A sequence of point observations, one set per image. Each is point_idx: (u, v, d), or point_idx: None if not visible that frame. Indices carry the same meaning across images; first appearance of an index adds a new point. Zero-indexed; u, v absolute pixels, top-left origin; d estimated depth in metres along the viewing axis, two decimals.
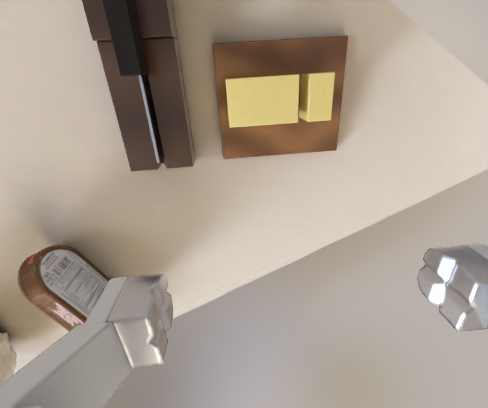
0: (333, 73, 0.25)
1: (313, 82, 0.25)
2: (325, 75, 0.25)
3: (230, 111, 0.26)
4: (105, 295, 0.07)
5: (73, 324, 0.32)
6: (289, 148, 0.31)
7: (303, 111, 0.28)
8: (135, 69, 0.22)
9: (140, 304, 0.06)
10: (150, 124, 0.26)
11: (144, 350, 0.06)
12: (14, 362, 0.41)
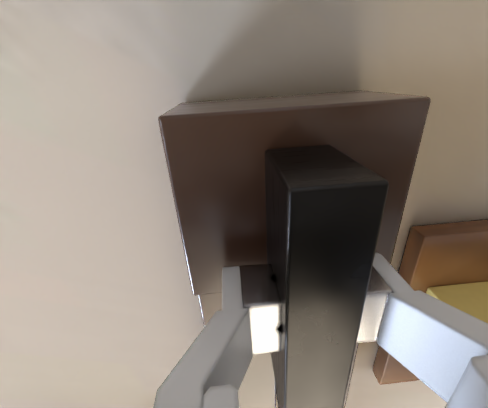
0: None
1: None
2: None
3: None
4: (228, 283, 0.07)
5: None
6: None
7: None
8: None
9: (267, 291, 0.06)
10: None
11: (269, 337, 0.07)
12: None
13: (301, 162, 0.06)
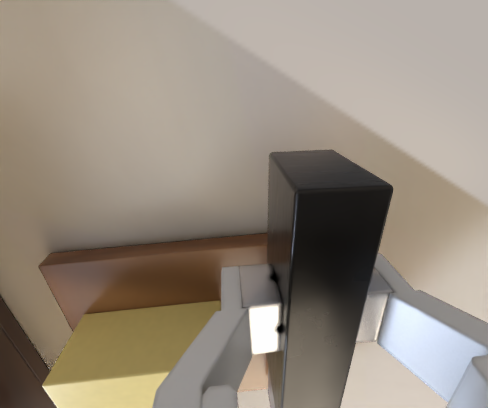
0: None
1: None
2: None
3: None
4: (227, 283, 0.07)
5: None
6: None
7: None
8: None
9: (267, 291, 0.06)
10: None
11: (268, 337, 0.07)
12: None
13: (306, 165, 0.06)
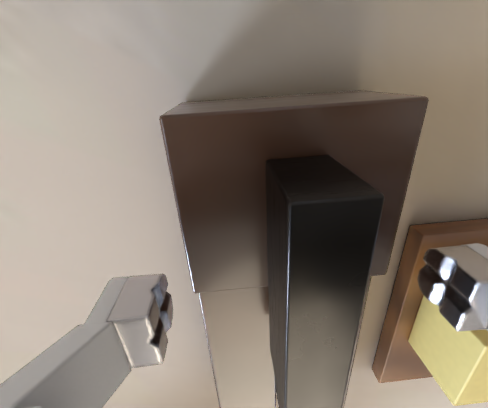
0: None
1: None
2: None
3: (468, 388, 0.12)
4: (105, 295, 0.07)
5: None
6: None
7: None
8: None
9: (140, 304, 0.06)
10: None
11: (144, 350, 0.06)
12: None
13: (301, 174, 0.06)
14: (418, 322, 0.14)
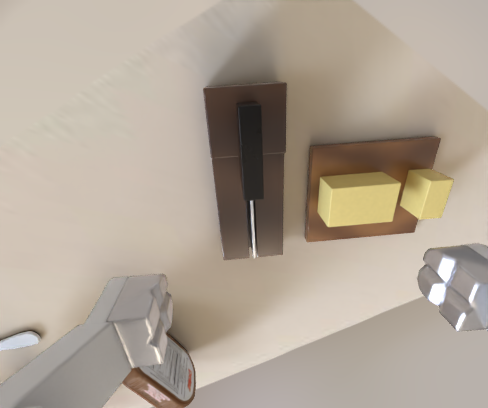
0: (452, 180, 0.26)
1: (432, 187, 0.26)
2: (444, 182, 0.26)
3: (331, 214, 0.27)
4: (105, 295, 0.07)
5: (160, 401, 0.33)
6: (370, 232, 0.32)
7: (411, 206, 0.29)
8: (259, 195, 0.23)
9: (140, 304, 0.06)
10: (253, 227, 0.27)
11: (144, 350, 0.06)
12: None
13: (244, 103, 0.21)
14: (319, 197, 0.29)
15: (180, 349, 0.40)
